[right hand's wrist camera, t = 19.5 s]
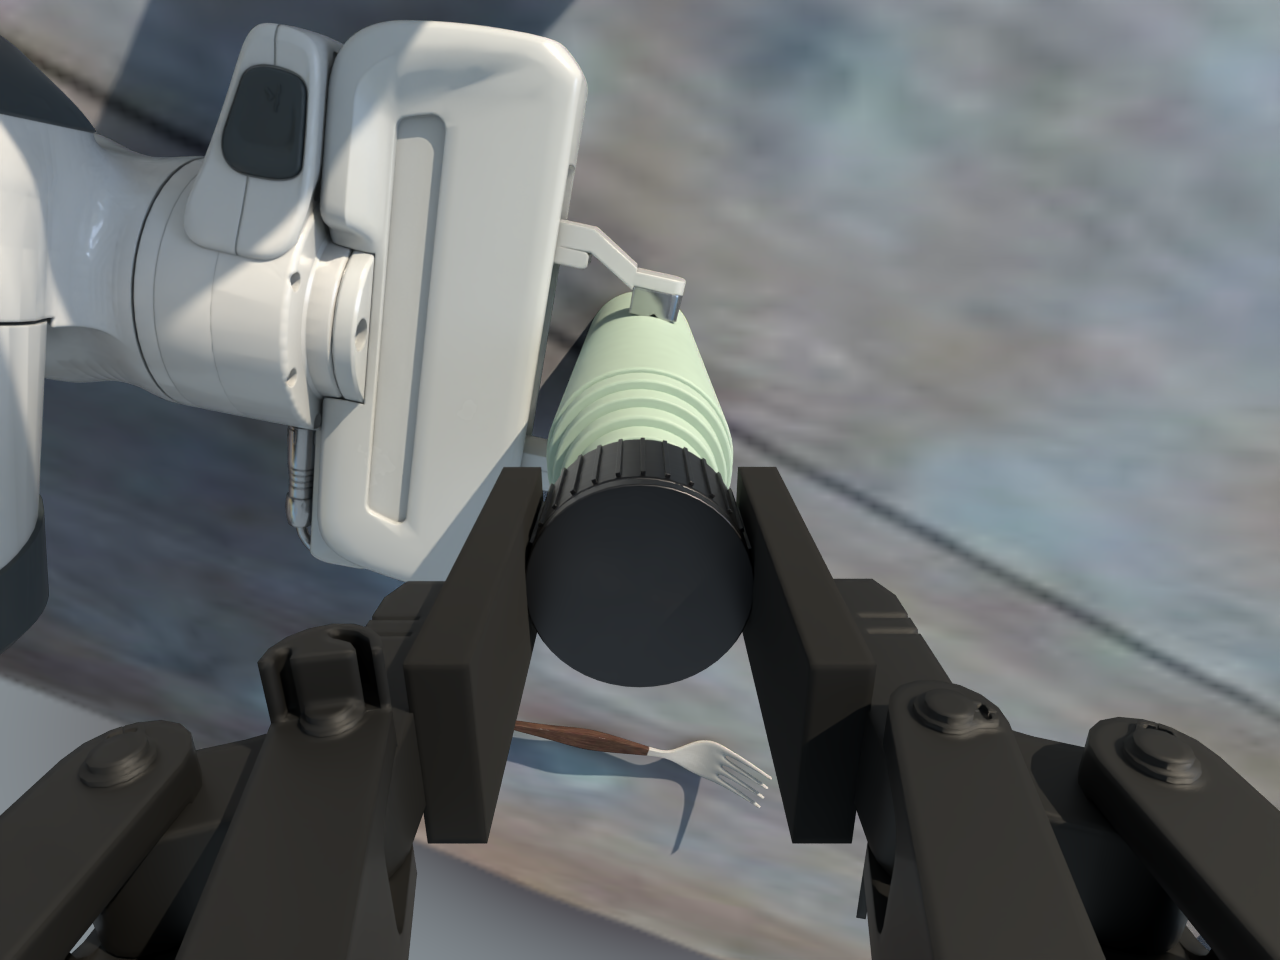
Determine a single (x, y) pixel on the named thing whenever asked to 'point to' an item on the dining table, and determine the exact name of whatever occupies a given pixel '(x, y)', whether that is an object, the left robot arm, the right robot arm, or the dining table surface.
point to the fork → (654, 752)
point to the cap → (639, 565)
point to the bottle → (639, 392)
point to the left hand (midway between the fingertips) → (662, 380)
